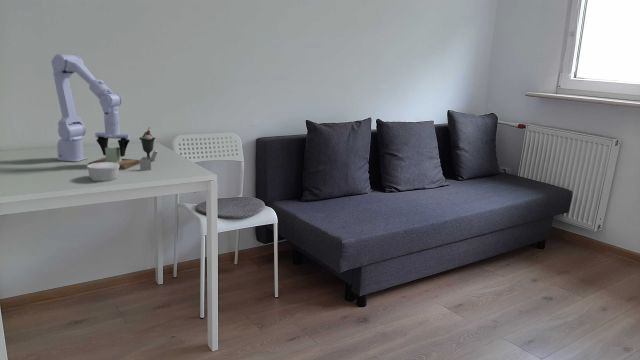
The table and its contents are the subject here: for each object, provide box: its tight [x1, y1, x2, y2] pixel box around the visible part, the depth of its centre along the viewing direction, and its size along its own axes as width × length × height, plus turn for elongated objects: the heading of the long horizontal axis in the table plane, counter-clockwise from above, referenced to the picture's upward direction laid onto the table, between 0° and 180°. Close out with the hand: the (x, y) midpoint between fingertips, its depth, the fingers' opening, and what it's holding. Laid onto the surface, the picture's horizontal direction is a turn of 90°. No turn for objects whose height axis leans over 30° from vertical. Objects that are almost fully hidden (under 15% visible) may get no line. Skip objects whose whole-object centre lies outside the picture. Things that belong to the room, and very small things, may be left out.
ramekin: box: [86, 162, 120, 182], centre depth 188 cm, size 11×11×5 cm
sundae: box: [138, 126, 156, 163], centre depth 219 cm, size 7×7×15 cm
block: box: [105, 145, 123, 163], centre depth 209 cm, size 4×4×6 cm
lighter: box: [139, 149, 159, 171], centre depth 204 cm, size 7×2×8 cm, turn 110°
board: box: [87, 156, 140, 170], centre depth 210 cm, size 16×12×2 cm
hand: (114, 155), depth 209 cm, fingers open, 7 cm apart
